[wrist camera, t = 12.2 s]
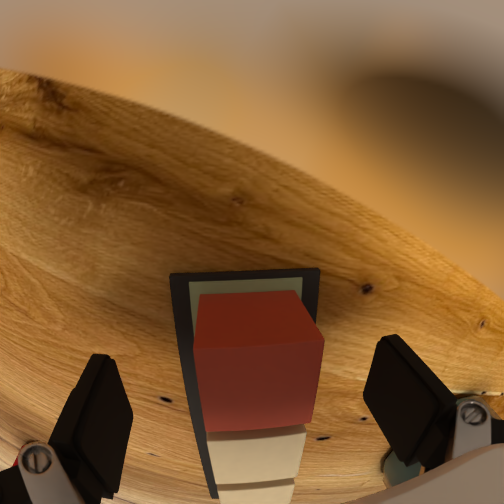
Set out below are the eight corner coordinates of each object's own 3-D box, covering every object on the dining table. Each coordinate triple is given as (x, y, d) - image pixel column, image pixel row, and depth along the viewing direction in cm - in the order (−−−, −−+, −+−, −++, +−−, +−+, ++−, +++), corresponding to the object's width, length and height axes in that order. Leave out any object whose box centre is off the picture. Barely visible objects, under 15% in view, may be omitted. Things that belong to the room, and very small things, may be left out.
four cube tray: (170, 272, 13) (148, 324, 9) (317, 267, 14) (360, 312, 9) (211, 495, 19) (213, 537, 15) (287, 489, 20) (297, 529, 16)
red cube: (199, 293, 13) (192, 348, 9) (294, 289, 14) (325, 339, 9) (206, 369, 14) (205, 432, 10) (289, 364, 15) (311, 422, 11)
